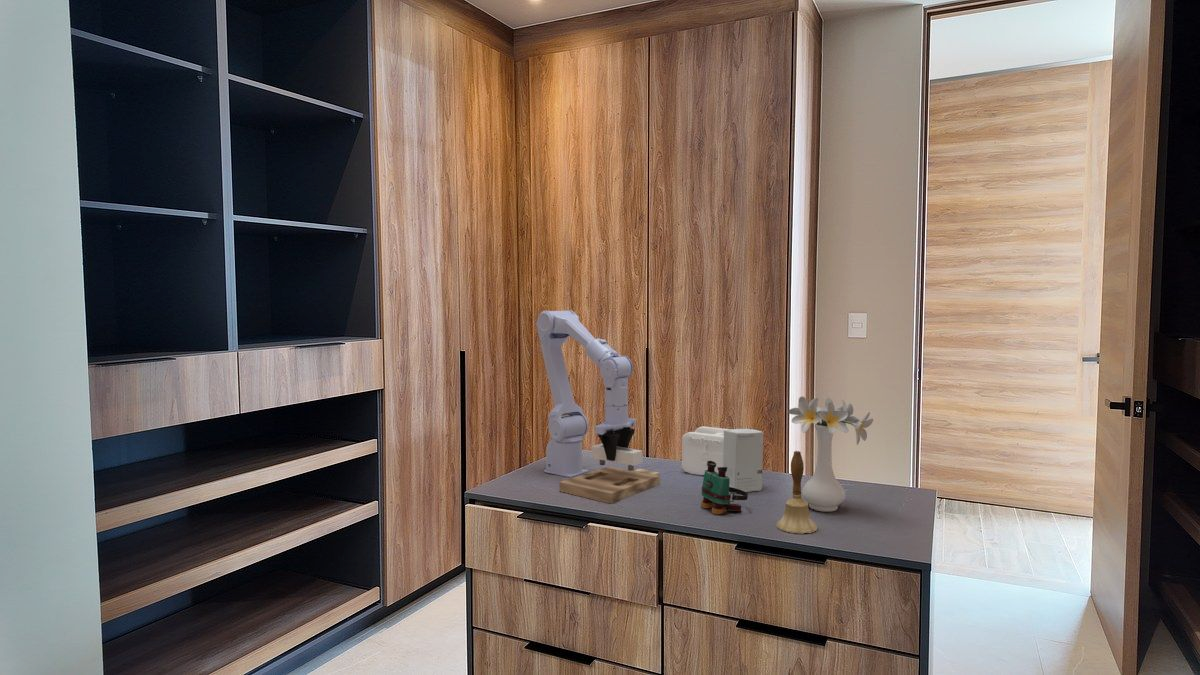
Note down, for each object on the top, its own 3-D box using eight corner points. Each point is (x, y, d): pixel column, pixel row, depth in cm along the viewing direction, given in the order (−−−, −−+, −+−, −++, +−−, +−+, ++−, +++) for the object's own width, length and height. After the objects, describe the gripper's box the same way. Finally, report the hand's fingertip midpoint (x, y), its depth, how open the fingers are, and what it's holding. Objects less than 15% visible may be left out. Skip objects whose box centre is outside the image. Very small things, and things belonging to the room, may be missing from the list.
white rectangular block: (591, 464, 179) (591, 445, 179) (600, 461, 182) (601, 443, 182) (632, 472, 171) (633, 452, 171) (642, 469, 174) (642, 450, 174)
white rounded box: (747, 473, 191) (748, 431, 190) (732, 482, 182) (733, 437, 181) (696, 466, 199) (697, 425, 198) (679, 474, 190) (680, 431, 189)
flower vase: (863, 522, 150) (867, 406, 148) (778, 508, 159) (780, 399, 157) (874, 507, 161) (877, 398, 159) (793, 494, 170) (796, 392, 169)
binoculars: (756, 468, 157) (718, 468, 153) (752, 515, 157) (713, 516, 153) (734, 459, 165) (697, 459, 161) (729, 504, 165) (692, 504, 161)
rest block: (633, 478, 185) (633, 470, 185) (639, 475, 187) (639, 468, 187) (653, 482, 181) (653, 474, 181) (659, 479, 183) (659, 472, 183)
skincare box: (734, 494, 171) (735, 433, 170) (721, 487, 176) (722, 429, 175) (763, 490, 174) (764, 431, 173) (749, 484, 179) (750, 426, 179)
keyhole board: (609, 475, 188) (609, 466, 188) (659, 485, 178) (659, 476, 178) (559, 491, 172) (559, 481, 172) (611, 503, 163) (611, 493, 162)
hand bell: (771, 529, 145) (772, 453, 144) (782, 518, 152) (784, 445, 151) (811, 537, 141) (813, 458, 140) (821, 525, 148) (823, 450, 147)
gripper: (611, 410, 168) (611, 466, 169) (646, 402, 179) (645, 455, 180) (588, 407, 172) (588, 462, 173) (623, 400, 184) (623, 451, 184)
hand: (616, 458), depth 177 cm, fingers closed on white rectangular block, 4 cm apart
